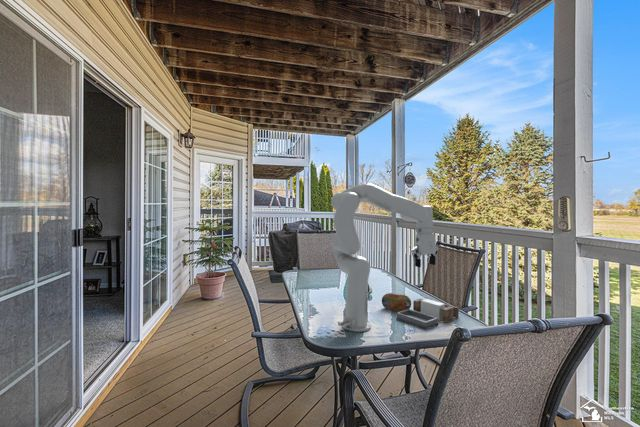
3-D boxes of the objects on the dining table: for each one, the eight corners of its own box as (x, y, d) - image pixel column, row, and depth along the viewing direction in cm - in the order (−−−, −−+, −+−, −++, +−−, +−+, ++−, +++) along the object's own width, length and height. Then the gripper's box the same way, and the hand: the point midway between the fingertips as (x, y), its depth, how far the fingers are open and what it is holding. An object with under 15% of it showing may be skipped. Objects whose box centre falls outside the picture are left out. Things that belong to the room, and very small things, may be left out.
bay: (446, 322, 144) (446, 309, 144) (413, 312, 158) (413, 300, 158) (458, 317, 151) (458, 305, 151) (425, 308, 165) (425, 296, 165)
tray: (425, 329, 136) (425, 322, 136) (396, 319, 148) (396, 312, 148) (437, 324, 142) (438, 318, 142) (408, 314, 154) (408, 308, 154)
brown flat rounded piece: (381, 308, 164) (381, 292, 164) (383, 306, 167) (383, 291, 167) (410, 313, 157) (410, 296, 157) (411, 311, 160) (412, 295, 160)
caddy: (441, 321, 147) (441, 306, 147) (420, 314, 156) (420, 300, 155) (447, 318, 150) (447, 304, 150) (426, 312, 159) (426, 298, 158)
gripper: (417, 232, 145) (417, 269, 146) (443, 230, 153) (443, 264, 154) (405, 231, 152) (406, 266, 152) (431, 229, 160) (432, 262, 160)
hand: (425, 265), depth 153 cm, fingers open, 9 cm apart
